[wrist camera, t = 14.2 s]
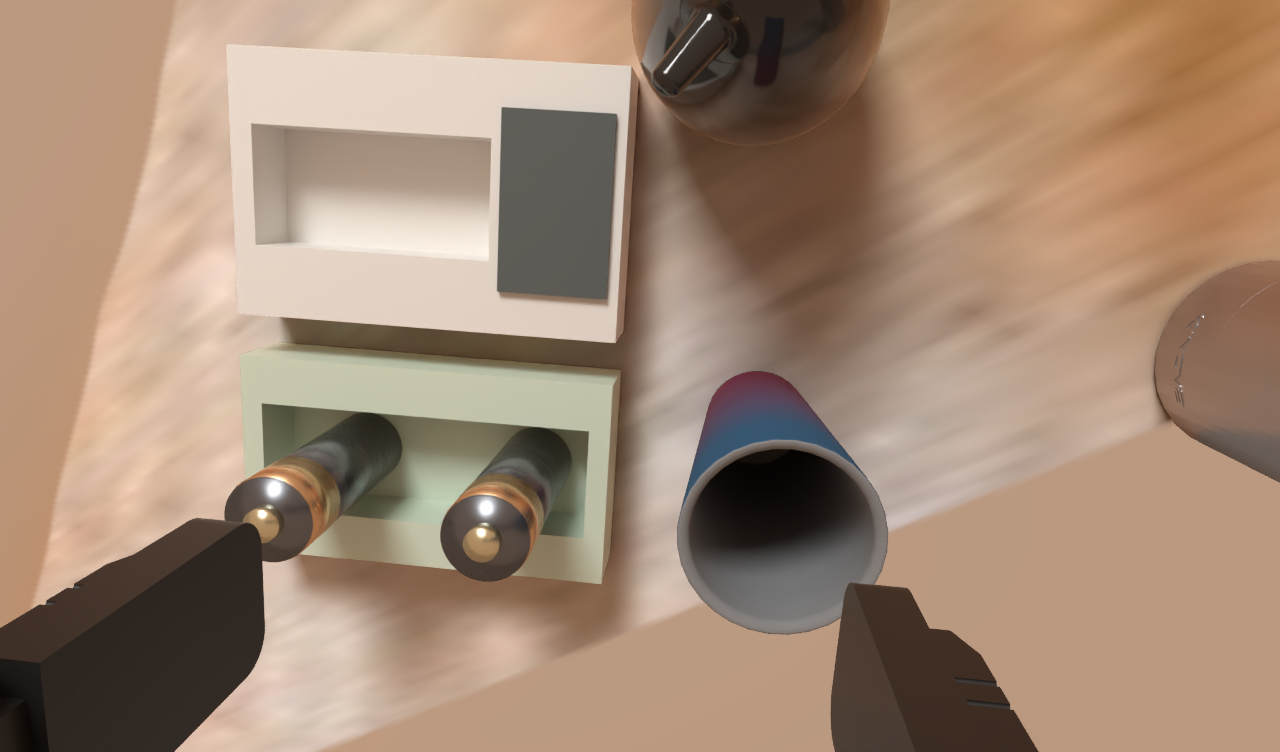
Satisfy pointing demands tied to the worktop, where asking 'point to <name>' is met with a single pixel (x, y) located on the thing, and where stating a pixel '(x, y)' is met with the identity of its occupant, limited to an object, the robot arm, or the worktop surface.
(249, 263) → the battery tester
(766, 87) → the black tapered dome
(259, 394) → the trough rack
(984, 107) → the worktop surface
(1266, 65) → the worktop surface
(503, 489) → the cell
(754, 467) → the cup
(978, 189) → the worktop surface
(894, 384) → the worktop surface
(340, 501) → the cell
